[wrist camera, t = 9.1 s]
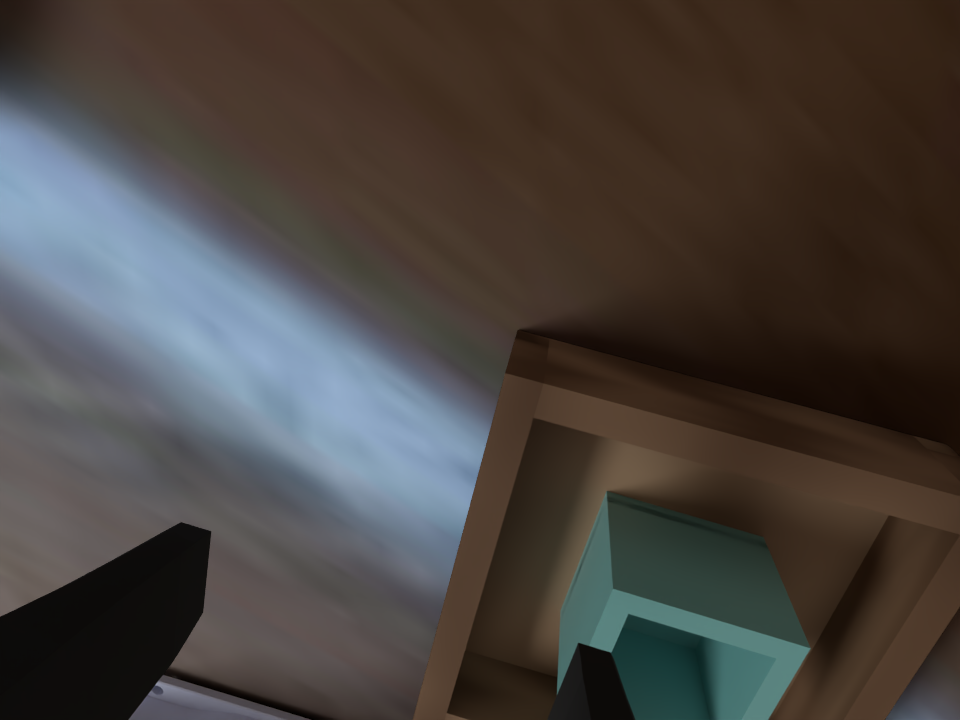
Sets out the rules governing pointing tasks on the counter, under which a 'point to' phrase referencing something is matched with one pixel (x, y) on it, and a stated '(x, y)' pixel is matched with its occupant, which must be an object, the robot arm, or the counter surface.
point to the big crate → (703, 494)
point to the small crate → (683, 614)
